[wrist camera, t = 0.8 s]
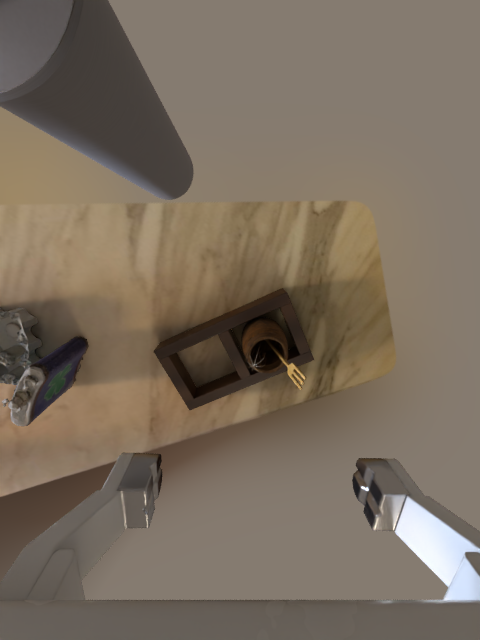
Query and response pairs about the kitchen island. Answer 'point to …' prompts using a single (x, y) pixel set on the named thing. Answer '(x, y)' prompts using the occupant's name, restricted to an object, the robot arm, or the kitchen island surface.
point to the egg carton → (16, 344)
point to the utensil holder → (268, 348)
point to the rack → (230, 350)
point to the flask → (46, 381)
